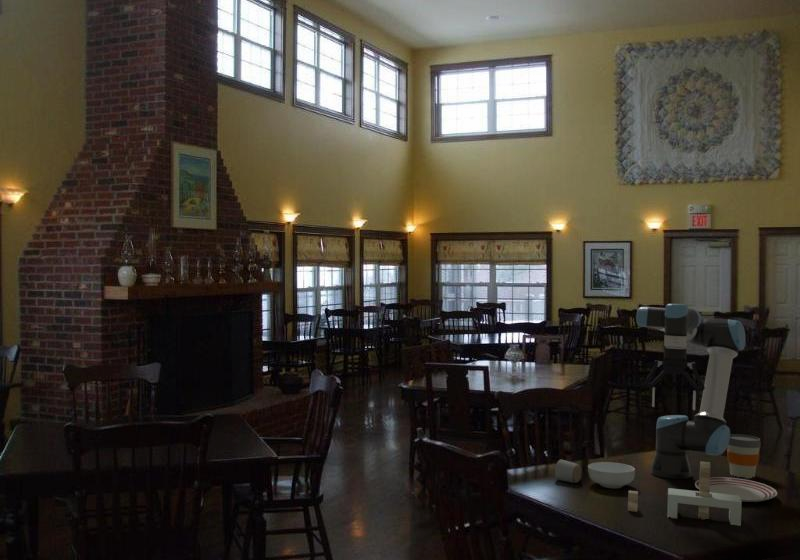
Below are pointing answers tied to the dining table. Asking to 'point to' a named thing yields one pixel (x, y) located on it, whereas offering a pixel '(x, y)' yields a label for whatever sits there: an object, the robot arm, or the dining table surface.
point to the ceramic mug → (568, 471)
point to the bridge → (705, 502)
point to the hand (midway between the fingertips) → (673, 408)
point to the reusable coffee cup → (743, 455)
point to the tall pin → (704, 488)
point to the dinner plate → (741, 488)
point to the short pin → (633, 501)
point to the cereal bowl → (611, 474)
